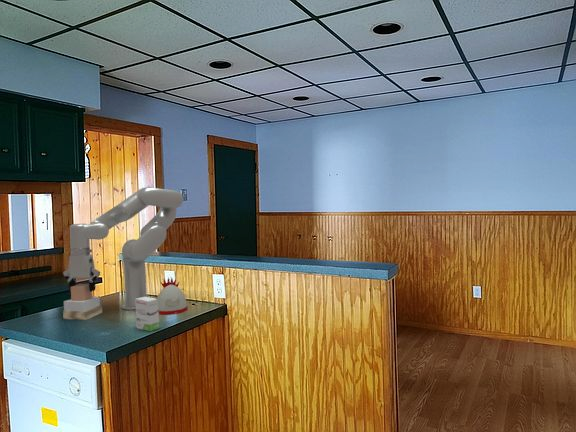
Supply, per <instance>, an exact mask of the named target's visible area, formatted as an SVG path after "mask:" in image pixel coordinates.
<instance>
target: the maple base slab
mask: <svg viewBox="0 0 576 432" xmlns="http://www.w3.org/2000/svg"><path fill="white" fill-rule="evenodd" d="M102 313H103V304H100V306H97V307H95V308H92V309H89V310H87V311H84V312H80V311H64V310H63V311H62V317H63V320H84V321H86V320H89V319H91V318H94V317H95V316H98V315H100V314H102Z"/></svg>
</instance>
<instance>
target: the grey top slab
mask: <svg viewBox="0 0 576 432" xmlns="http://www.w3.org/2000/svg"><path fill="white" fill-rule="evenodd" d="M100 298H101V297H100V296H93V297H92V298H90V299H87V300H85V301H71V298H70V299H67V300H63V311H80V312H84V311H87V310H89V309H92V308H95V307H97V306H100V305H101V301H100V300H101V299H100Z"/></svg>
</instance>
